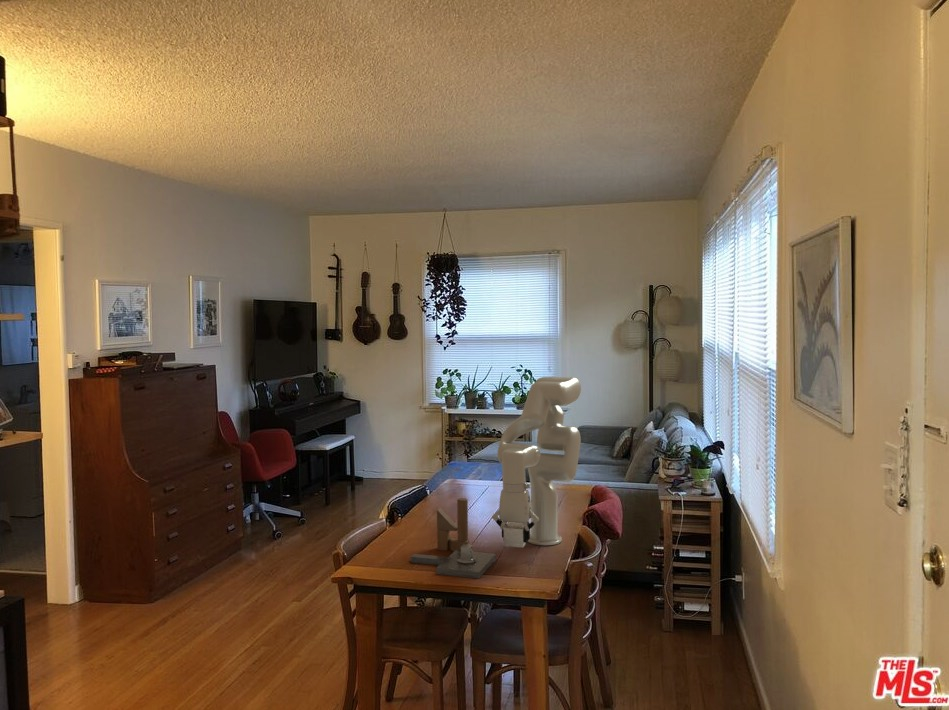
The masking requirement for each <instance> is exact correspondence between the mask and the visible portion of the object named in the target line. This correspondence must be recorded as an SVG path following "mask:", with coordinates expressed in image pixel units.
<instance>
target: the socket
mask: <svg viewBox="0 0 949 710" xmlns="http://www.w3.org/2000/svg"><path fill="white" fill-rule="evenodd" d="M503 530H504V541H503V547H512V548H524V547H525V546H526V544H527V543H525V542H524V531H525V528H524V525H523V523H519V522H507V524H506V525H505V527H504V528H503Z"/></svg>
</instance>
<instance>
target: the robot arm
mask: <svg viewBox="0 0 949 710" xmlns="http://www.w3.org/2000/svg"><path fill="white" fill-rule="evenodd" d="M581 391H582V385H581V383H580V381H579V379H578V378H577V377H572V376H571V377H568V376H565V377H564V376H543V377H539V378H538V379H536V380H535V382H534V383H533V384H531V386H530V388H529V391H528V393H527V397H526V401H525V403H524V406H523V410H522V413H521V415H520V416H519V417H517V418H516V419H515V420H514V421H513V422H511V423H510V424H509V425H508V426H507V427H506V428H505V429H504V432H502V434H501V437H500V442H499V444H498V449H497V453H496V454H497V459H498V462H499V463H500V464H501V470H502V473H501V474H502V489H501V490H500V496H499V504H498V508H499V509H498V510H496V511H495V512H494V513H493V514H492V516H491V518H492V519H493V521H495V523H496V524H497V525H498V526H499V527H500V528H499V529H501V538H502V539H503V542H504V530H503V528H504V527H505V525H506V524H507V523H508V522H519V523H523V525H524V528H525V531H524V542H525V543H526V544H527V543H530V544H532V545H537V546H554V545H558V544H560V543H561V542H562V541H563V539H562V536H561V534H558V491H557V488H556V486H555V484H554V483H553V482H560V483H571V482H573V481H574V480H575V477H576V475H577V471H578V464H579V459H580V458H579V457H580V450H581V443H582V442H581V441H582V438H581V432H580V430H579V429H578V428H577V427H575V426H569V425H564V419H565V413H564V411H563V409H562V407H566V406H568V405H571V404H573V403H574V402H575V401H577V400H578V399H579V397H580V396H581ZM536 430H537V436H536V444H537V446H536V445H534V444H531V443H530V444H529V443H518V442H515V441H516V440H517V439H518V438H519V437H521V436H522V435H524V434H528V433H530V432H533V431H536ZM541 450H542V451H544V452H541ZM545 451H546V452H545ZM547 452H549V453H547ZM550 452H556V453H557V452H558V453H564V454H556V453H550ZM526 469H527V470H528V476H529V483H527V478H526ZM529 489H530V491H529Z"/></svg>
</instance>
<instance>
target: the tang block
mask: <svg viewBox="0 0 949 710" xmlns="http://www.w3.org/2000/svg"><path fill="white" fill-rule="evenodd" d="M473 548H474V547H473V544H469V545H468V544H463V545H462V546H461V551H460V550H455V551H452V553H451V554H449V556H441V555H440V556H439V555H432V554H431V555H430V554H420V553H414V554H412V555H410V563H412V564H418V565H419V564H421V565H422V564H423V565H431V566H437V567H436V571H435V572H436V575H443V576H450V577H452V576H453V577H461V578H471V579H479V580H480V578H481V577H482V576H483V575H484V574H485V573H486V572H487V570H488V569H489V568H490V567H491V566H492V564H493V563H494V562H495V561H496V555H497V554H496V553H489V552H482V551H481V552H480V551H479V552H478V551H473Z"/></svg>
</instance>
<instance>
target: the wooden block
mask: <svg viewBox="0 0 949 710" xmlns="http://www.w3.org/2000/svg"><path fill="white" fill-rule="evenodd" d="M468 501H469V500H468V498H466V497H460V498H457V499H456V502H457V503H456V504H457V505H456V508H457V509H456V510H457V511H456V513H457V516H456V519H457V522H456V523H457V524H456V523H455V522H454V520H453V519H452V518H451V517H450V516H449V515H448V514H447V512H445V511H444V510H443V509H442V507H438V508H437V509H436V522H437V523H436V526H437V527H436V529H437V530H436V532H437V533H436V535H437V538H436V540H437V544H436V545H437V546H436V547H437V548H436V549H437V551H448V550H449V551H452V552H454V551H455V550H460V551H461V546H462V545H463V544H468V545H470V538H469V528H468V527H469V524H468V523H469V515H468V513H469V511H468V509H469V508H468ZM456 531H457V537H450V532H456Z"/></svg>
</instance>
